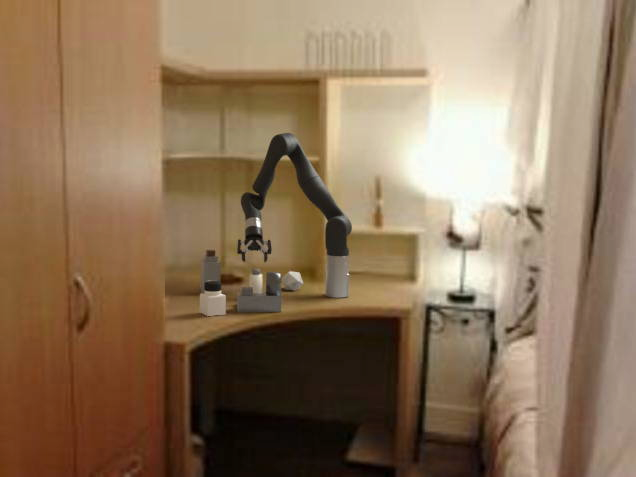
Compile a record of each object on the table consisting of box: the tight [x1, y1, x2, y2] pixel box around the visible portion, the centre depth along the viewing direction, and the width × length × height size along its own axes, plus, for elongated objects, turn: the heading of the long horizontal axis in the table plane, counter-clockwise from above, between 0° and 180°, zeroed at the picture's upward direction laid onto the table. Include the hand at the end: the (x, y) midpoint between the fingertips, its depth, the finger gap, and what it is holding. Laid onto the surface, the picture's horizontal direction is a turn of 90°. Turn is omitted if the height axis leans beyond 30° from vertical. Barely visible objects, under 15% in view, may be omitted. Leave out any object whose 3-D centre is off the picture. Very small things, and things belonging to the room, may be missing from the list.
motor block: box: [236, 271, 283, 313], centre depth 244 cm, size 16×13×14 cm
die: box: [281, 270, 304, 292], centre depth 281 cm, size 8×9×10 cm
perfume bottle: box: [200, 249, 222, 294], centre depth 268 cm, size 7×7×18 cm
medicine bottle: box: [199, 280, 227, 317], centre depth 233 cm, size 7×7×12 cm
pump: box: [248, 268, 264, 293], centre depth 261 cm, size 5×5×12 cm
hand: (254, 261), depth 269 cm, fingers open, 8 cm apart
